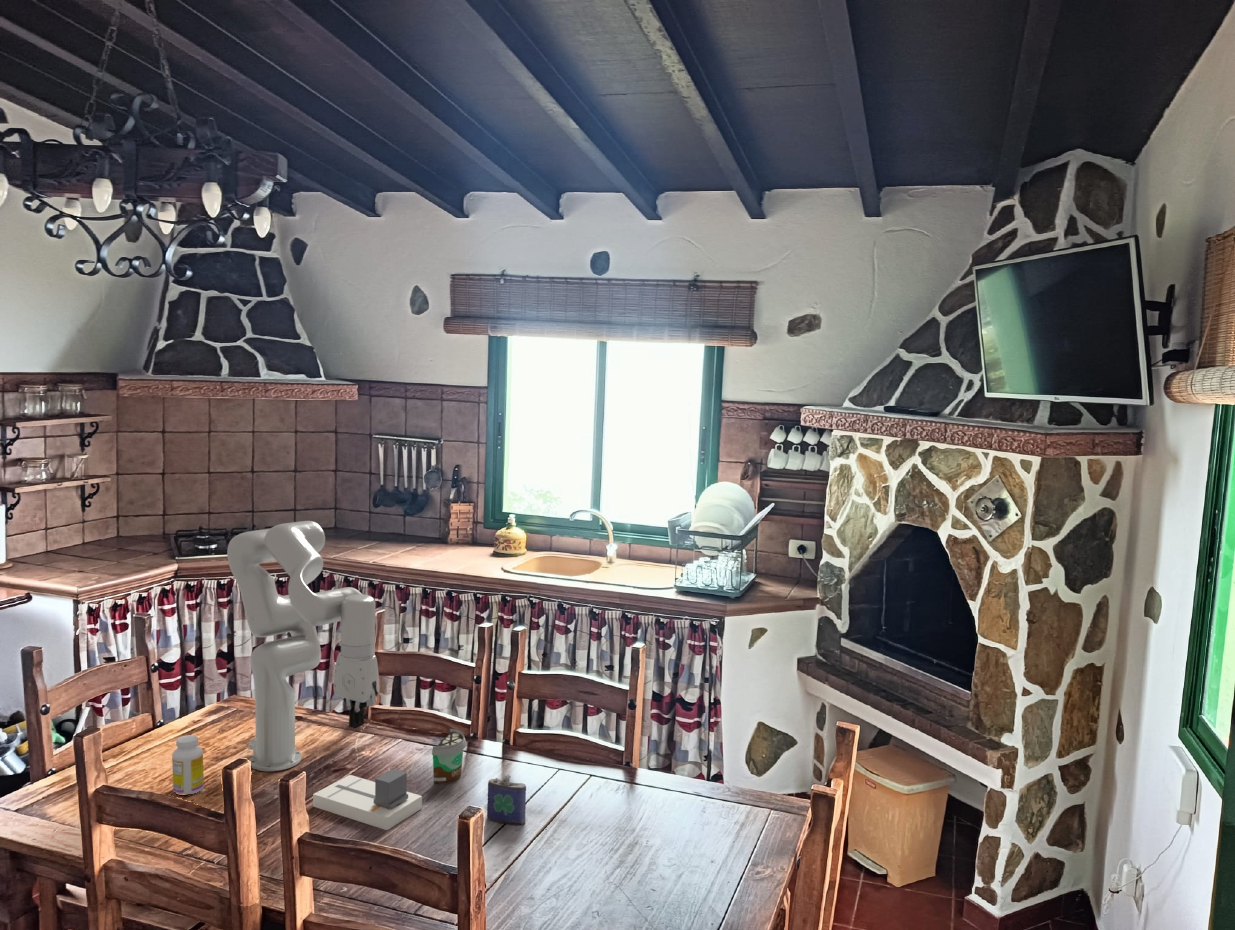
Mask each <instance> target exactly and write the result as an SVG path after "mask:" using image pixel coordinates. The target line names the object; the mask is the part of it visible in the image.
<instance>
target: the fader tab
mask: <svg viewBox="0 0 1235 930" xmlns="http://www.w3.org/2000/svg"><path fill="white" fill-rule="evenodd" d="M407 776H408V774H407V772H405V771H402V770H398V769H395V768H391V770H388V771H387V772H385V773H383V774H381V775H380V776H378V777H376V778H375V781H374V782H375V799H374V804H376V805H380V806H383V807H386V808H389V809H391V808H393V807H395V806H396V805H398V804H400V803H401V802H403V801H405V800H406V799H408V794H407V792H408V791H407V788H408V787H407V786H408V785H407V784H408V783H407V782H408V780H407Z"/></svg>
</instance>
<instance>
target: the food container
mask: <svg viewBox="0 0 1235 930" xmlns="http://www.w3.org/2000/svg"><path fill="white" fill-rule="evenodd" d="M466 747H467V741H466V738H465V735H464V733H463V732H461V731H460V730H457V729H452V728H449V733H448V734H447V735H446V736H445V737H443V738H441V739H440V742H439V743H438V744H437V745H435V746H434V745H433V746H432V749H431V755H432V767H433V768H432V770H433V773H432V775H433V784H434V785H446V784H451V783H453V782H456V781H458V780H459V779H461V777H462V770H463V769H462V768H463V766H462V765H463V757H464V750H465V748H466Z"/></svg>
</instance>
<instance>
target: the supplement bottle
mask: <svg viewBox="0 0 1235 930" xmlns="http://www.w3.org/2000/svg"><path fill="white" fill-rule="evenodd" d="M175 743H176V744H175V745H176V747H177V748H176V749H174V751H173V752H172V755H171V756H172V760H171V761H172V763H171V764H172V767H171V768H172V789H173V793H174V792H176V793H178V794H193V793H196V794H198V793H200V792H201V791H203V789H204V786H205V784H204V783H205V782H204V781H205V780H204V778H205V777H204V750H203V748H202V747H201V746H200V745H198V743H199V737H198V736H197V735H193V734H191V735H190V734H189V735H183V736H180V737H178V738H176V741H175ZM199 791H200V792H199ZM197 792H198V793H197ZM193 795H194V794H193Z"/></svg>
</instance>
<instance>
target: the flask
mask: <svg viewBox="0 0 1235 930" xmlns="http://www.w3.org/2000/svg"><path fill="white" fill-rule="evenodd" d="M510 779H511V775H510V774H507V775H504V776H503V777H502V779H500V778H498V777H495V778H491V779H489V780H488V781H487V803H486V804H487V805H486V817H487V818H486V820H488V821H490V822H494V823H498V824H506V825H514V826H522V825H525V823H526V808H527V807H526V804H527V803H526V799H527V797H526V795H527V793H526V792H527V785H526V784H525V783H521V782H510Z"/></svg>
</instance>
